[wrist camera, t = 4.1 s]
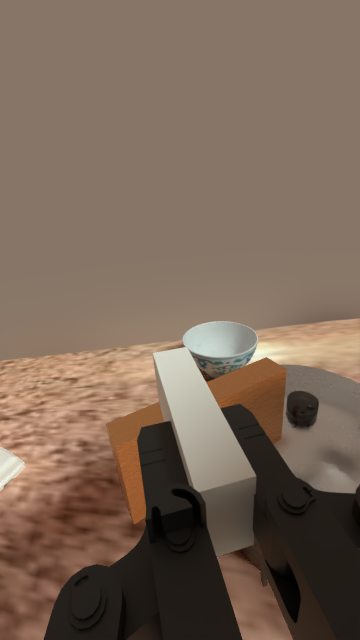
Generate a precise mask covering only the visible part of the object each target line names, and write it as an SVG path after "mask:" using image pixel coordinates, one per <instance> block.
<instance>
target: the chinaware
mask: <svg viewBox="0 0 360 640" xmlns="http://www.w3.org/2000/svg"><path fill="white" fill-rule="evenodd" d="M182 341H183V346H184V347H187V348H188V350H189V352H190V354H191V355H192V357H193V359H194V361H195V363H196V365H197V367H198V368H199V369H201V370H203V371H205V372H206V373H207V374H208V375H209V376H211V377H214V378H218V377H220V376H223V375H225V374H228V373H230V372H232V371H235V370H237V369H240V368H242V367H244V366H245V365H246V364H247V363H248V362H249V361H250V359H251V358H252V356H253V354H254V352H255V349H256V346H257V343H258V336H257V334H256V333H255V331H254V330H252V329H251V328H249V327H247V326H245V325H242V324H239V323H235V322H227V321H226V322H225V321H216V322H209V323H204V324H200V325H197V326H195V327H193V328H191V329H189V330H188V331H187V332H186V333H185V334H184V336H183V340H182Z"/></svg>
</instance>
